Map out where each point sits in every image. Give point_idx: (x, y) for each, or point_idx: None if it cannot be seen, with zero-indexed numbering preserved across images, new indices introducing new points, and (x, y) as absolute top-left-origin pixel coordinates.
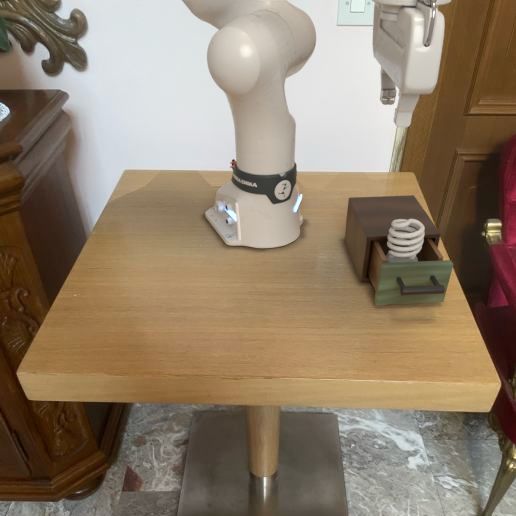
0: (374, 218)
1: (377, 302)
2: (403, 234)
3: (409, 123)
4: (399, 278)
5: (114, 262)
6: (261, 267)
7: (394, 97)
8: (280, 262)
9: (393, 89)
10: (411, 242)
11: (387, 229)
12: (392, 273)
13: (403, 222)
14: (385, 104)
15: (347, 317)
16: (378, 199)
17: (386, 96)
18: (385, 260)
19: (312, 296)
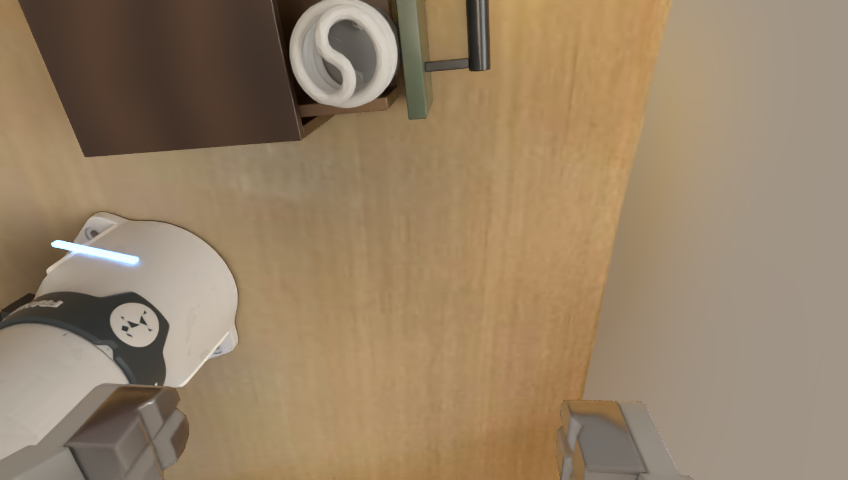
0: (194, 104)
1: (432, 99)
2: (382, 78)
3: (647, 414)
4: (432, 66)
5: (316, 476)
6: (302, 292)
7: (140, 412)
8: (279, 261)
9: (92, 459)
10: (393, 50)
11: (253, 79)
12: (425, 86)
13: (343, 77)
14: (186, 420)
15: (458, 157)
16: (68, 73)
17: (157, 459)
18: (387, 101)
19: (391, 213)
